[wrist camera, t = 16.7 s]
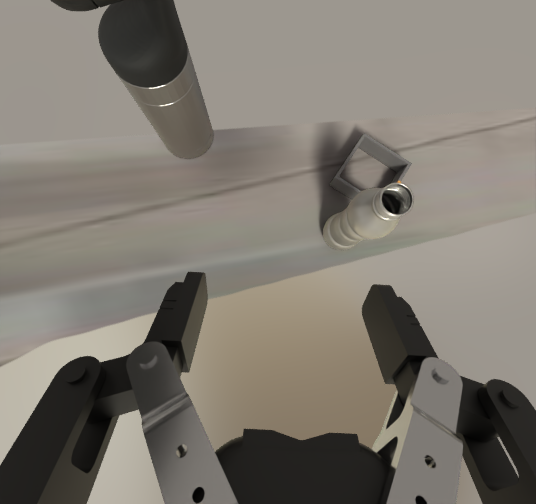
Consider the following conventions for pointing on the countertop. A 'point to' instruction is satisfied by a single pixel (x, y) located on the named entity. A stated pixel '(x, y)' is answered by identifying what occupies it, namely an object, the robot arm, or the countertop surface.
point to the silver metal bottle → (368, 216)
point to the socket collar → (378, 153)
